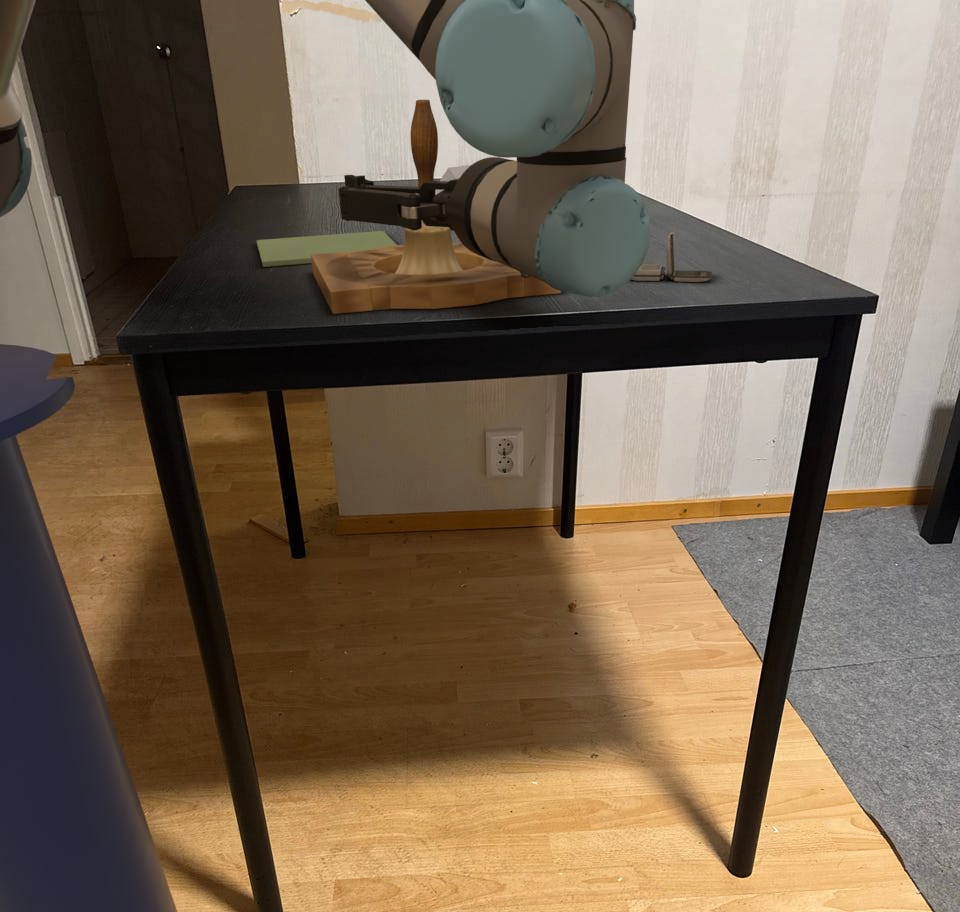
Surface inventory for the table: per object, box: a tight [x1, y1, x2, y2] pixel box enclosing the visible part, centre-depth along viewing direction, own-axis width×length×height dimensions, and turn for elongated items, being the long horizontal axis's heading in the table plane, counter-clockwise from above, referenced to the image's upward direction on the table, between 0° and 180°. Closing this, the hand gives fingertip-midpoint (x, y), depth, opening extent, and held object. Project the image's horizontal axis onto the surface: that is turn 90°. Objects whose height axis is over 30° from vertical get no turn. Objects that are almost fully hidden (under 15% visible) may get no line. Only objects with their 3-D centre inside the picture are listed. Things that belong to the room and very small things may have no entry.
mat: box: [256, 230, 398, 268], centre depth 106 cm, size 16×14×1 cm
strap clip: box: [630, 231, 713, 283], centre depth 87 cm, size 8×3×4 cm, turn 76°
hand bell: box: [395, 99, 463, 275], centre depth 85 cm, size 8×8×16 cm
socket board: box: [311, 242, 562, 315], centre depth 89 cm, size 22×21×2 cm
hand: (415, 184), depth 87 cm, fingers open, 13 cm apart
